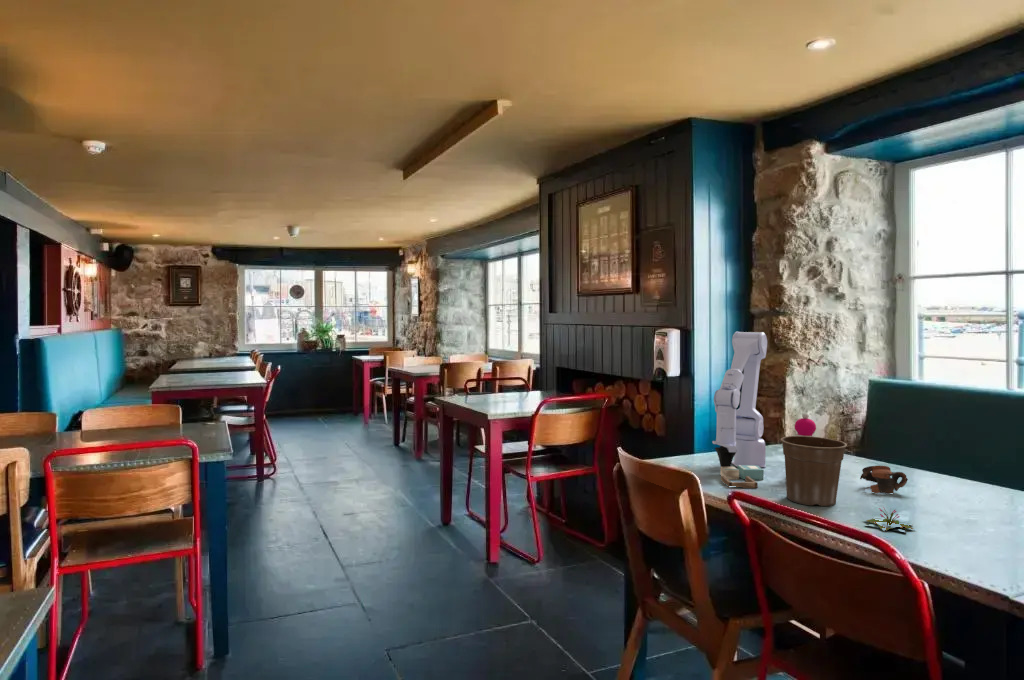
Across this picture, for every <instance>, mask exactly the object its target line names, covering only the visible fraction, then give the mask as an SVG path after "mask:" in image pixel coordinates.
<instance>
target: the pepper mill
mask: <svg viewBox="0 0 1024 680" xmlns="http://www.w3.org/2000/svg"><path fill="white" fill-rule="evenodd" d="M794 423H795V424H794V431H795V432H796V434H795V436H810V437H815V435H814V433H815V432H816V431H817V425H816V423H815V421H814V420H812V419H810V417H809V414H808V413H806V412H804V413H803V414H802V418H799V419H797V420H796V421H795V422H794Z"/></svg>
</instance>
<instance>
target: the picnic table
mask: <svg viewBox="0 0 1024 680" xmlns="http://www.w3.org/2000/svg"><path fill="white" fill-rule="evenodd" d="M721 480H722V481H723V482H724V483H725V484H727V485H728V486H736V487H743V488H742V489H758V488H759V487H758V484H759V483H758V481H756V480H753V479H751V478H750V477H749V476H746V479H745V480H744V481H731V480H730V479H727V478H726V477H724V476H720V481H721ZM722 481H721V482H722ZM723 482H722V483H723ZM724 483H723V484H724ZM725 484H724V485H725ZM728 486H727V487H728Z"/></svg>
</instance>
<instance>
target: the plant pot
mask: <svg viewBox="0 0 1024 680" xmlns="http://www.w3.org/2000/svg"><path fill="white" fill-rule="evenodd" d="M780 442H781V443H782V453H783V455H784V466H785V467H784V468H785V471H784V472H785V487H786V498H787V499H788V501H789V500H790V501H791V502H794V503H795V504H796V503H797V504H800V505H804V506H805V505H806V506H815V505H818V506H819V507H831V506H834V505H835V504H836V503H837V496H838V489H839V482H840V477H841V476H840V474H841V467H842V461H843V460H844V456H845V449H846V448H847V446H848V444H847V443H846V442H844V441H841V440H837V439H832V438H828V437H819V436H814V437H810V436H797V435H791V436H790V435H789V436H784V437H781V438H780Z"/></svg>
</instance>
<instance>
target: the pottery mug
mask: <svg viewBox="0 0 1024 680" xmlns="http://www.w3.org/2000/svg"><path fill="white" fill-rule="evenodd" d="M861 471H862V473H861V475H860V478H859V479H860V480H862V479H863V480H865V481H866V482H872V483H876V484H873V485H870V487H869V488H870V490H871V491H870V492H871V493H872V492H875V493H874V494H886V493H893V494H894V491H896V492H897V491H898V490H900V488H903V487H904V486H905V485H906V484H907V482H908V481H909V479H908V477H907V475H906V473H904V472H903V471H895V472H892V471H891V467H890V466H887V465H870V466H866V467H863V468H862V470H861ZM900 478H901V480H900V481H899V482H898V480H899V479H900Z"/></svg>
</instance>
